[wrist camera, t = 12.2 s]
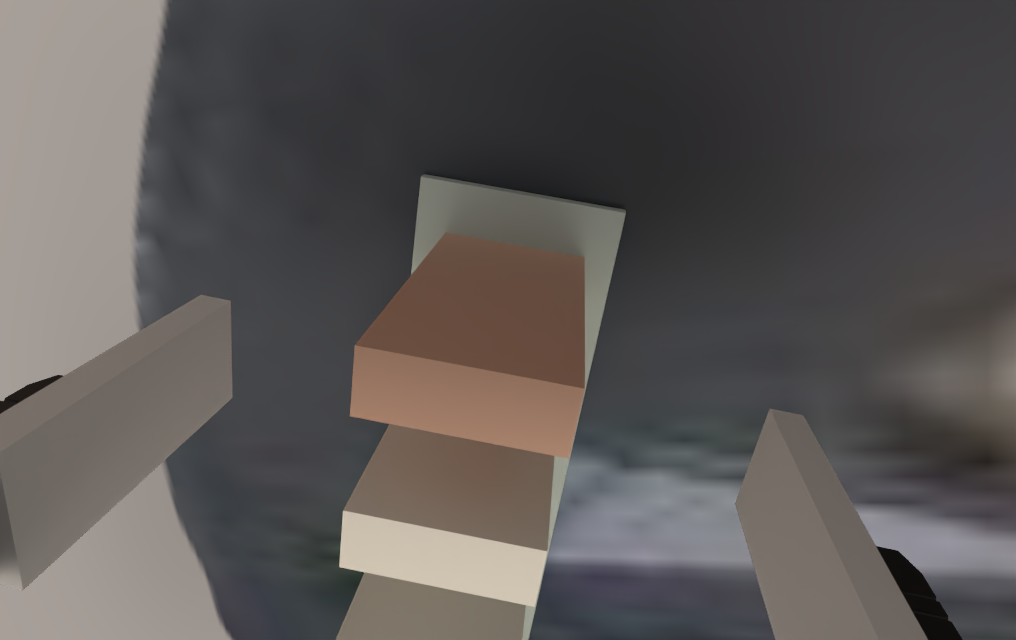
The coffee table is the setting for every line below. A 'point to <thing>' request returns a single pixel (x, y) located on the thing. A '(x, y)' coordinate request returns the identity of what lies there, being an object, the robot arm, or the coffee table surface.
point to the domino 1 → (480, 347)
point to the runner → (534, 227)
